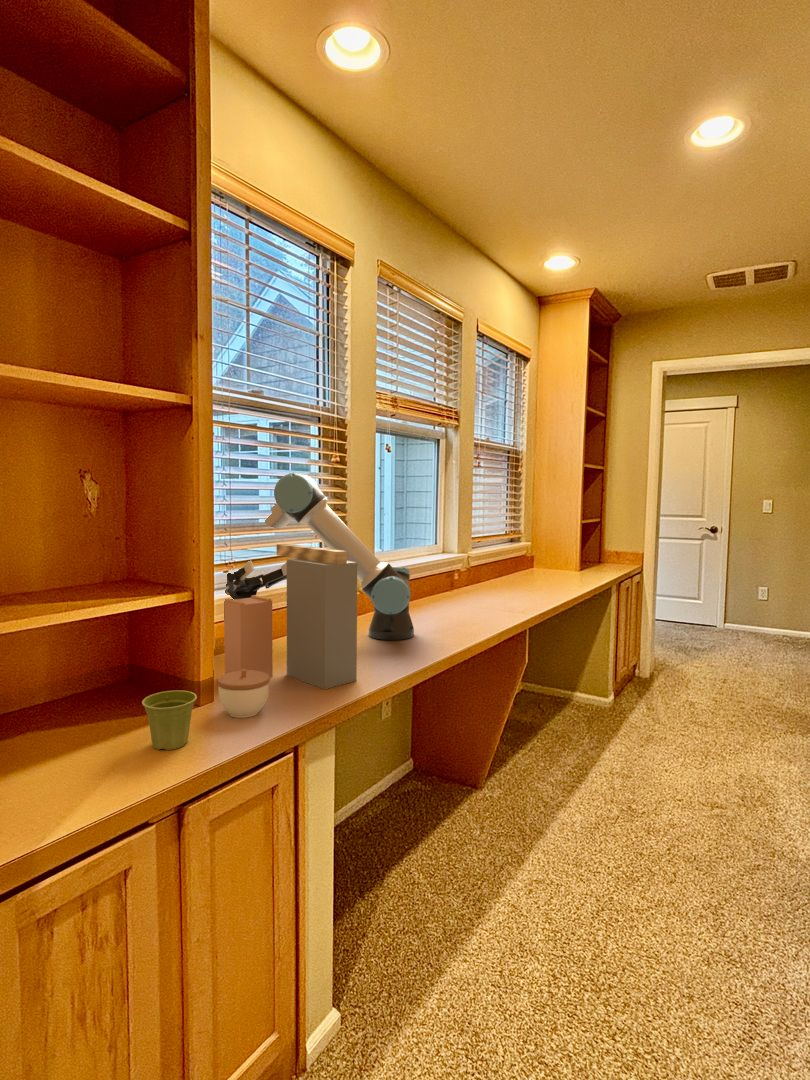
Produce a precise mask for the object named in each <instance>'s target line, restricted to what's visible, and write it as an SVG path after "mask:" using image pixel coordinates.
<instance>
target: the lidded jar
mask: <svg viewBox="0 0 810 1080" xmlns="http://www.w3.org/2000/svg"><path fill="white" fill-rule="evenodd" d="M270 678H271V677H270V676H269V675H268V674H267V673H265V672H262V671H255V670H246V669H242V670H241V671H234V672H230V673H226V674H225V673H224V674H222V675H220V676H219V677H218V678H217V686H218V687H217V689H218V690H217V691H218V699H219V702H220V705H221V707H222V708H223V710H224V711H225V712H226V713H227V714H228V715H229V716H230V717H232V718H236V719H248V718H251V717H254V716H257V715H258V714H259V712H260V711H261V710H262V709H263V708H264V706H265V704H266V703H267V700H268V699H269V692H270V680H271V679H270Z"/></svg>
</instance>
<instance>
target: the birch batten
mask: <svg viewBox="0 0 810 1080" xmlns="http://www.w3.org/2000/svg"><path fill="white" fill-rule="evenodd" d="M276 556H278V557H284V558H289V559H290V558H294V559H304V560H311V561H318V562H325V563H332V564H345V563H347V551H342V550H333V549H330V548H325V547H323V548H322V547H316V546H306V545H298V544H289V543H281V544H278V543H277V544H276Z"/></svg>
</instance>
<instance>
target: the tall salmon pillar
mask: <svg viewBox="0 0 810 1080" xmlns="http://www.w3.org/2000/svg"><path fill="white" fill-rule="evenodd" d="M223 623H224V626H223V627H224V628H223V629H224V631H223V633H224V638H223V639H224V640H223V641H224V674H226V673H230V672H234V671H241V670H242V669H246V670H255V671H262V672H265V673H267V674H268V675H269V676H270V678H271V677H273V675H274V674H273V673H274V672H273V600H272V598H268V597H263V596H259V595H257V594H256V595H252V596H251V598H243V599H235V600H233V599H229V598H228V599H225V601H224V621H223Z"/></svg>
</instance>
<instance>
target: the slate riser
mask: <svg viewBox="0 0 810 1080" xmlns="http://www.w3.org/2000/svg"><path fill="white" fill-rule="evenodd" d="M286 562H287V578H286V675H287V676H289V677H291V678H294V679H297V680H299V681H302V682H304V683H307V684H310V685H312V686H314V687H318V688H320V689H322V690H328V688H329V689H331V688H335V686H336V687H339V686H342V684H343V685H346V683H347V684H350V683H353V681H354V682H357V678H358V677H357V674H358V673H357V671H358V669H357V668H358V667H357V666H358V663H357V662H358V661H357V660H358V659H357V658H358V657H357V655H358V653H357V651H358V647H357V646H358V578H357V562H351V561H347V563H345V564H332V563H325V562H318V561H311V560H304V559H297V558H294V559H290V558H288V559H286ZM349 682H350V683H349Z"/></svg>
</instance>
